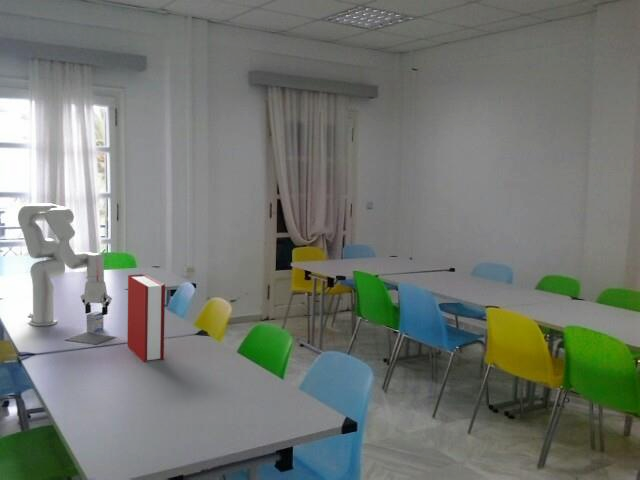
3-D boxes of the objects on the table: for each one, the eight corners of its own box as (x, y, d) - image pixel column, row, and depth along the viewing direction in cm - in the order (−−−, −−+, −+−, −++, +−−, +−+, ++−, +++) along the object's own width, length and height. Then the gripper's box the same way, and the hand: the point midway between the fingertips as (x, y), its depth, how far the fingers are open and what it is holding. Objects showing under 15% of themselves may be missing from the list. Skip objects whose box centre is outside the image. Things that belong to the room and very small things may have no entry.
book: (163, 359, 250) (164, 284, 247) (144, 362, 246) (145, 285, 243) (144, 343, 273) (145, 274, 270) (126, 345, 269) (127, 275, 265)
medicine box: (94, 333, 287) (94, 315, 286) (86, 332, 288) (86, 314, 287) (103, 329, 295) (103, 311, 294) (95, 328, 295) (95, 311, 295)
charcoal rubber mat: (64, 340, 272) (64, 339, 272) (85, 333, 286) (85, 332, 286) (96, 345, 267) (96, 344, 267) (115, 337, 280) (116, 336, 280)
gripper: (75, 278, 288) (76, 314, 289) (105, 281, 282) (106, 316, 284) (86, 276, 295) (86, 311, 296) (115, 278, 289) (116, 313, 291)
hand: (96, 313), depth 290 cm, fingers open, 9 cm apart
